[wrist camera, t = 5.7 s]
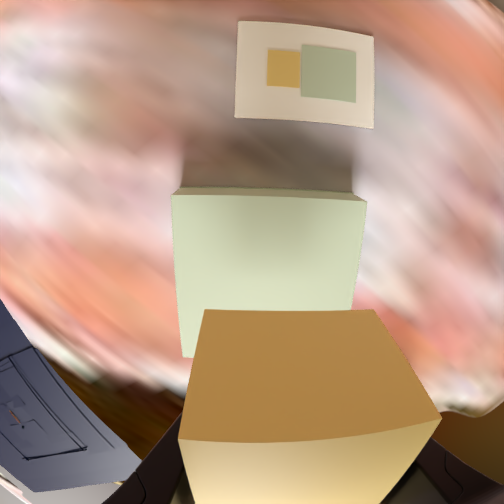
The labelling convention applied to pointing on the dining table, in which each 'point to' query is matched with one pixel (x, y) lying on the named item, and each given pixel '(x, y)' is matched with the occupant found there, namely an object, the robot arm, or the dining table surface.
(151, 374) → the dining table surface
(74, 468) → the dark grey flat panel
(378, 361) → the top brick
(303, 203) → the base brick
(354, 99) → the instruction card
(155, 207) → the dining table surface
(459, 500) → the robot arm
